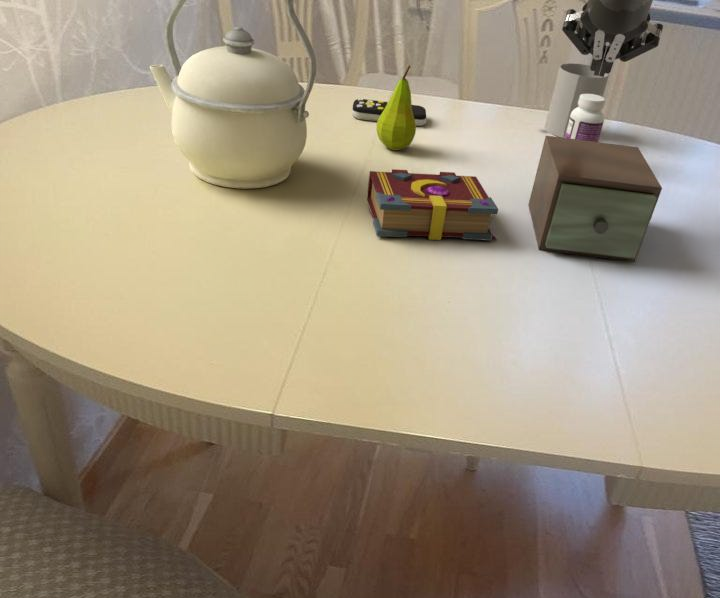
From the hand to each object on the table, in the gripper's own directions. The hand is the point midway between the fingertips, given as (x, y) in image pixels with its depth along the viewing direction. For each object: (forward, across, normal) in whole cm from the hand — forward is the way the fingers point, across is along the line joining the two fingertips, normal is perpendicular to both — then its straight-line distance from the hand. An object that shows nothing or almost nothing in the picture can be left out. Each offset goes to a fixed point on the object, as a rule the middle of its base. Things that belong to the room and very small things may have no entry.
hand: (600, 70), depth 106 cm
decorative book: (-7, +16, +29) cm, 34 cm away
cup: (+30, +2, -7) cm, 31 cm away
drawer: (-4, -4, +25) cm, 25 cm away
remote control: (+21, +33, +2) cm, 39 cm away
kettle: (-4, +47, +26) cm, 54 cm away
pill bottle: (+19, 0, +3) cm, 20 cm away
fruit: (+11, +28, +12) cm, 32 cm away
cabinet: (-2, -3, +24) cm, 24 cm away
